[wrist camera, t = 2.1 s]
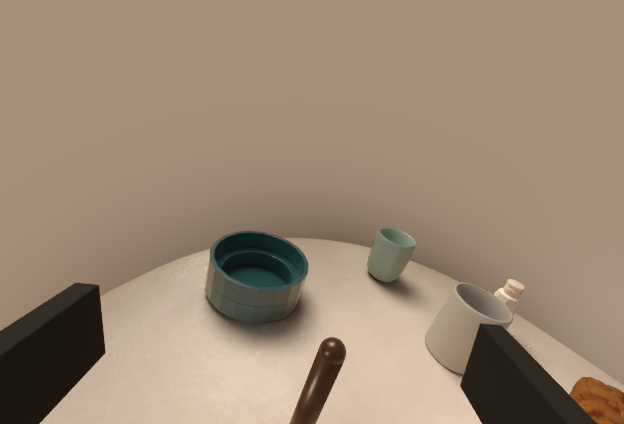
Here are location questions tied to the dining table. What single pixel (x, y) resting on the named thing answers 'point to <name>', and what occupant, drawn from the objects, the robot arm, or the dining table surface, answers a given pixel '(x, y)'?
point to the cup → (390, 254)
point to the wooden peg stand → (319, 381)
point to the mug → (463, 324)
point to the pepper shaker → (510, 294)
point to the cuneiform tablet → (599, 401)
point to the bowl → (255, 276)
